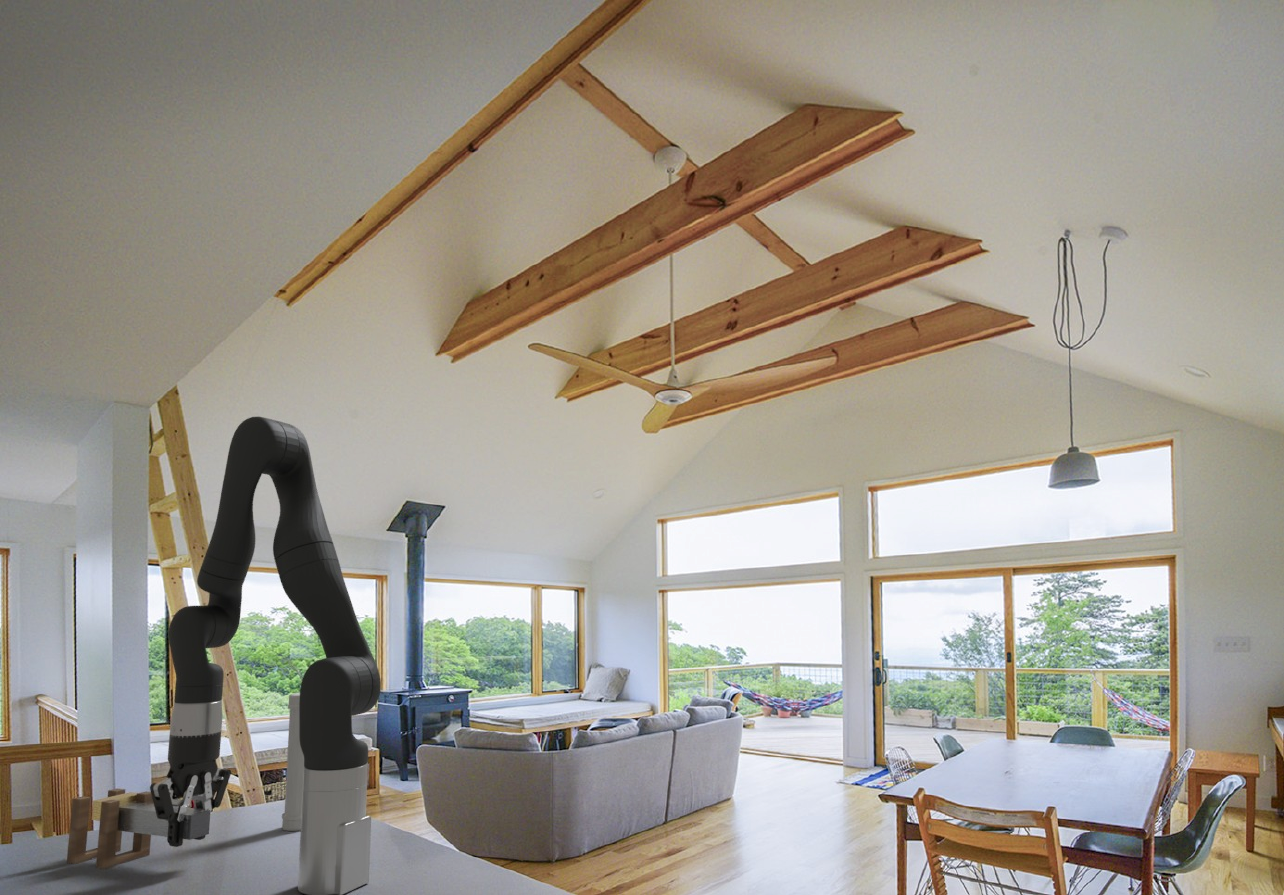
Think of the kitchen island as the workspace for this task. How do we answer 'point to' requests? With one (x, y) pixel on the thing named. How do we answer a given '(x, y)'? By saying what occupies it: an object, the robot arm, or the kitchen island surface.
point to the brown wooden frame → (104, 833)
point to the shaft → (160, 821)
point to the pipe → (293, 769)
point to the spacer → (122, 798)
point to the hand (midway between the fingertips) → (187, 841)
